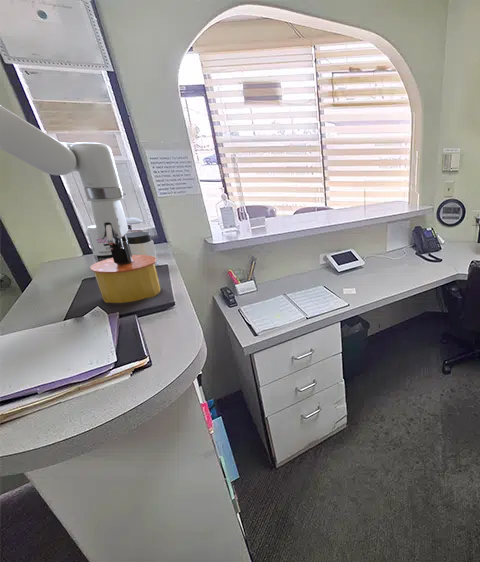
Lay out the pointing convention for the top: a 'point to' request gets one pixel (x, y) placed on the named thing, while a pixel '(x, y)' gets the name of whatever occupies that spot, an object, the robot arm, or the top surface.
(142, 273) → the tin
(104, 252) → the supplement can
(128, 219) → the french press
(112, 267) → the lid
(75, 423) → the top surface
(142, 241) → the jar
